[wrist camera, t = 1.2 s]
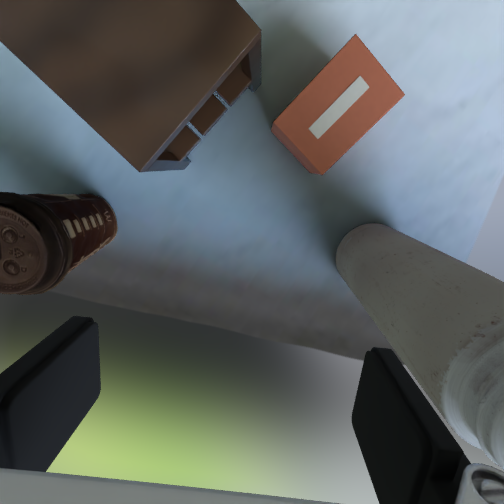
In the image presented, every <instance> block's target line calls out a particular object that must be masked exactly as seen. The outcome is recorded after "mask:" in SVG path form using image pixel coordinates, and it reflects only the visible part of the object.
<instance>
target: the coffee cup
mask: <svg viewBox="0 0 504 504" xmlns="http://www.w3.org/2000/svg"><path fill="white" fill-rule="evenodd" d="M117 229H118V228H117V220H116V216H115V213H114V211H113V209H112V208H111V206H110V205H109V204H108V203H107V202H106V201H105V200H104V199H103V198H101V197H98V196H95V195H92V194H80V195H78V194H28V195H25V194H22V195H20V194H16V193H9V192H0V293H2V294H19V295H31V294H41V293H44V292H46V291H48V290H50V289H52V288H54V287H56V286H57V285H58V284H59V283H60V282H61V281H62V280H63V278H64V277H65V276H66V274H67V273H69V272H70V271H71V270H73V269H74V268H75V267H77V266H78V265H80V264H81V263H82V262H83V261H85V260H86V259H88V258H89V257H90V256H91V255H93V254H95V253H96V252H97V251H98V250H100V249H101V248H103V247H104V246H105V245H107V244H108V243H110V242H111V241H112V240H113V239H114V238H115V236H116V234H117Z"/></svg>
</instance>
